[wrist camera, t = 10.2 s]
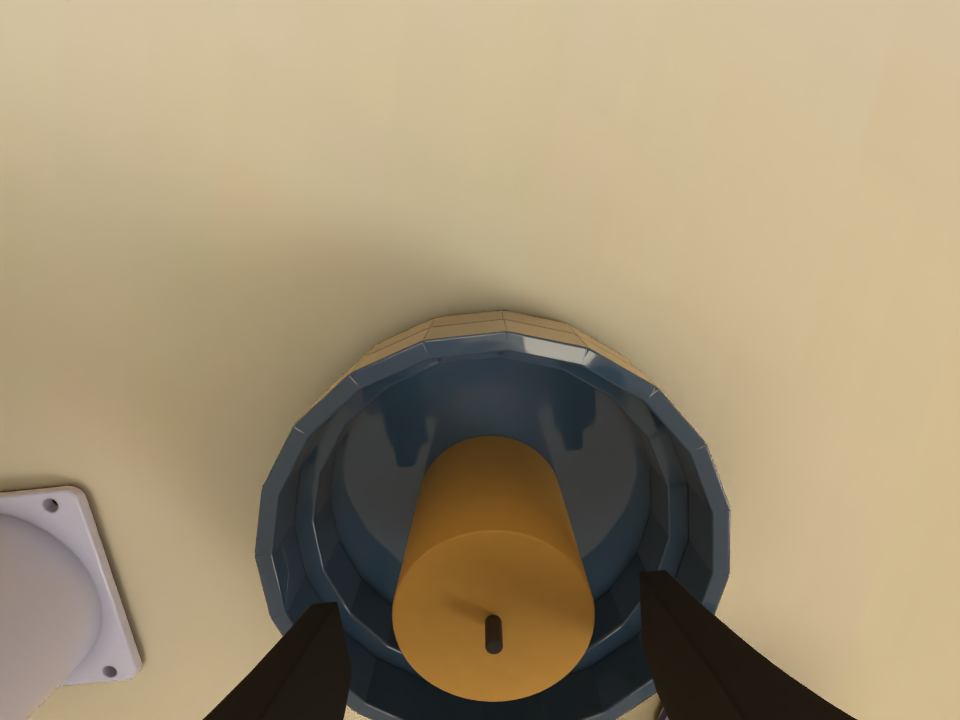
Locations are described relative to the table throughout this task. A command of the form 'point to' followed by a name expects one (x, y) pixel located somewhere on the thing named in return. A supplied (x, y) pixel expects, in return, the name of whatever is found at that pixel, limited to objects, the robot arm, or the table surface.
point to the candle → (492, 575)
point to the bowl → (512, 414)
